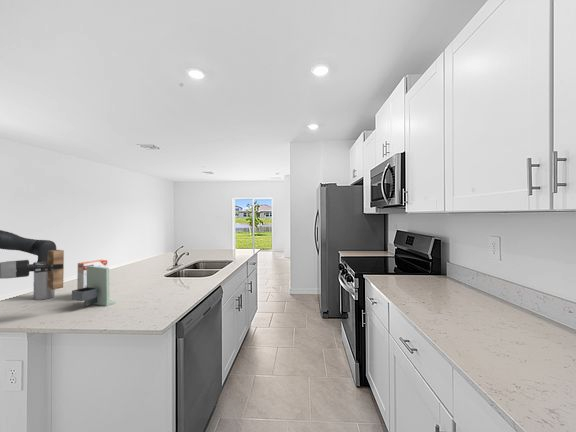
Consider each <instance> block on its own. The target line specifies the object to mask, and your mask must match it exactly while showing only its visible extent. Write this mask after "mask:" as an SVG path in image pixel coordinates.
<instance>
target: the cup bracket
mask: <svg viewBox="0 0 576 432" xmlns="http://www.w3.org/2000/svg"><path fill="white" fill-rule="evenodd" d="M71 300H74V301H77V302H84V306H85V307H86V306H90V305H93V304H94V305H97V306H98V305H99V306H103V307H109V306H112V305H115V304H117V303H116V300H110V267H107V268H104V267H96V266H87V287H85V288H81V289H73V290H71Z"/></svg>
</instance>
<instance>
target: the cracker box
mask: <svg viewBox="0 0 576 432" xmlns="http://www.w3.org/2000/svg"><path fill="white" fill-rule="evenodd" d="M87 266H96V267H104V268H108V259H107V260H106V259H97V260H91V261H90V260H89V261H83V262H82V261H81V262H78V263H77V277H76V278H77V285H76V286H77V289H81V288H85V287H87ZM77 289H76V290H77Z"/></svg>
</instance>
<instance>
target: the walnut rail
mask: <svg viewBox="0 0 576 432" xmlns="http://www.w3.org/2000/svg"><path fill="white" fill-rule="evenodd" d="M64 257H65V252H64V249H56V250H51V251H48V265H51V264H52V265H55V264H63V269H54V270H52V271H48V273H47V289H52V290H54V289H55V290H57V289H62V288H64V270H65V269H64V266H65V265H64V263H65V262H64V261H65V260H64V259H65V258H64Z"/></svg>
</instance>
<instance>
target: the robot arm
mask: <svg viewBox="0 0 576 432" xmlns="http://www.w3.org/2000/svg"><path fill="white" fill-rule="evenodd" d="M0 250H8V251H19V252H24V253H27V254H30V255H34V256H37V261H36V262H35V261H34V262H33V263H31V264H30V261H29V259H24V260H23V259H21V260H9V261H7V260H6V261H3V262H2V261H1V262H0V279H1V280H2V279H16V278H25V277H29V276H30V272H33V299H34V300H36V301H38V300H40V301H41V300H47V299H52V298H54V297H55V296H56V295H55V293H56V292H55V291H56V289H54V290H52V289H47V273H48V271H52V270H54V269H63V264H55V265H52V264H51V265H48V251H51V250H57V245H56V243H55V242H54V241H53V240H48V239H34V238H27V237H23V236H20V235H19V234H15V233H13V232H10V231H6V230H1V229H0Z"/></svg>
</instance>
